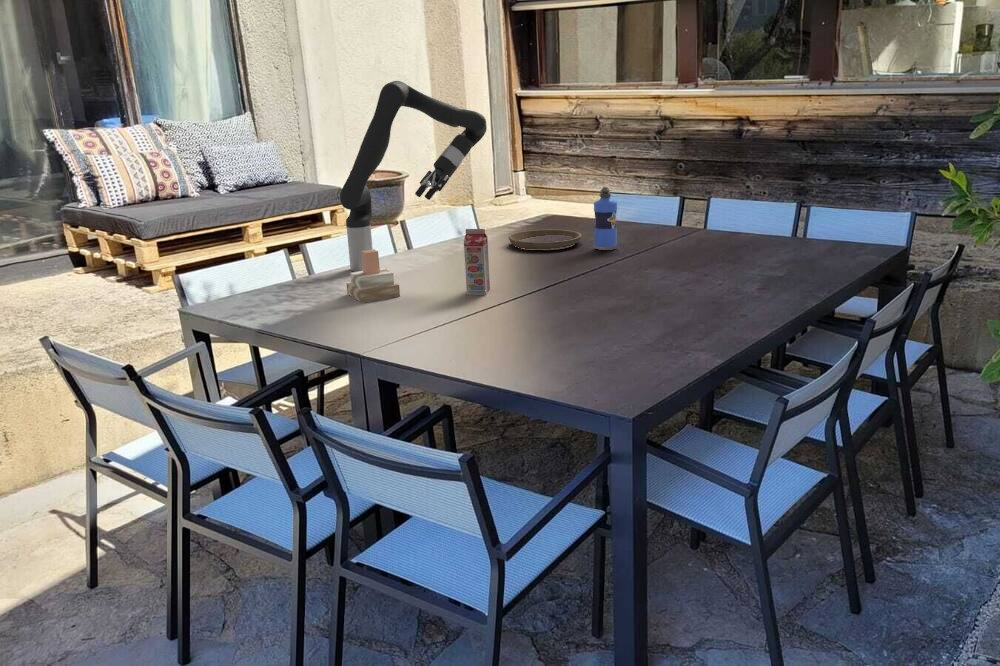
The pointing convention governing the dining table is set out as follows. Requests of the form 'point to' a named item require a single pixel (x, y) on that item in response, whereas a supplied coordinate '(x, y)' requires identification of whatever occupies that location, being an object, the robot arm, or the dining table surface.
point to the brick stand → (372, 286)
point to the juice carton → (476, 262)
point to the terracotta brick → (370, 262)
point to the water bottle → (605, 220)
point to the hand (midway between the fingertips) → (421, 197)
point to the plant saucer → (543, 245)
